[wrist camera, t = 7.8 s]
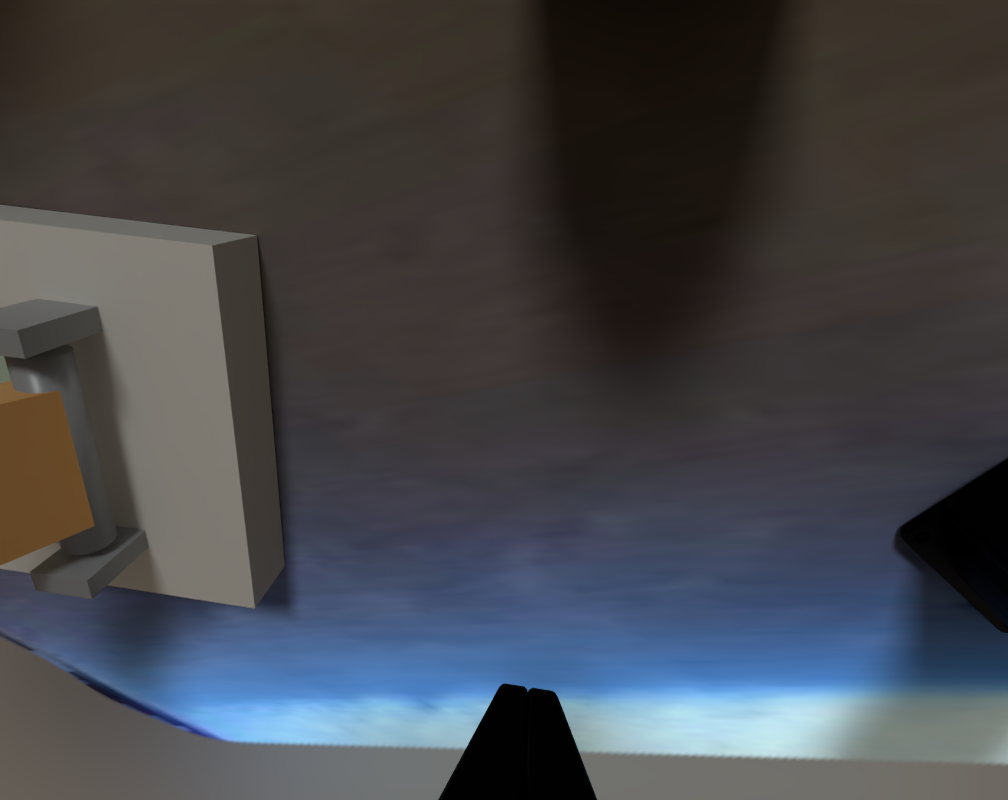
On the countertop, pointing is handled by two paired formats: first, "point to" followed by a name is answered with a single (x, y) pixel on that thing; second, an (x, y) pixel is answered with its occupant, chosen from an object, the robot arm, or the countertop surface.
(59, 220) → the base
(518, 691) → the robot arm
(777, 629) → the countertop surface
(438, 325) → the countertop surface
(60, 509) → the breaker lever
